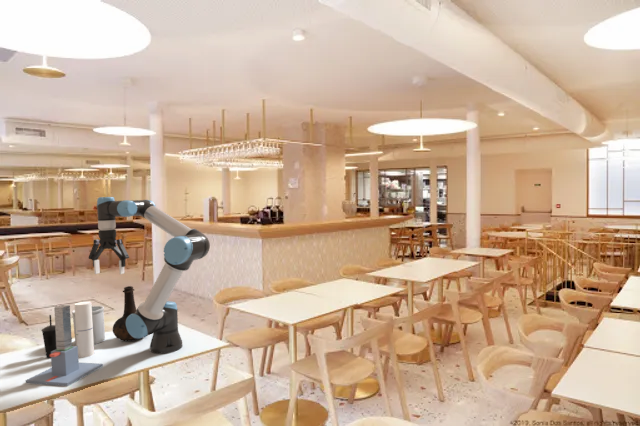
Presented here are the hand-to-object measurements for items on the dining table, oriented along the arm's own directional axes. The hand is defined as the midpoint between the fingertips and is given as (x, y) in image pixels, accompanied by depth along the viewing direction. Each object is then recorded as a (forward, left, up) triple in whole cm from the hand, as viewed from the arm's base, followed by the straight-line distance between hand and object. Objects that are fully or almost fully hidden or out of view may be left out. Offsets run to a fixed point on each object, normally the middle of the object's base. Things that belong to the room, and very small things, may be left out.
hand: (109, 273), depth 205 cm
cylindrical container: (+13, +3, -39) cm, 41 cm away
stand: (+4, +25, -39) cm, 46 cm away
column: (+4, +25, -31) cm, 40 cm away
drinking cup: (+28, +7, -39) cm, 48 cm away
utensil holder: (+25, -14, -39) cm, 48 cm away
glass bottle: (+5, -21, -39) cm, 44 cm away
